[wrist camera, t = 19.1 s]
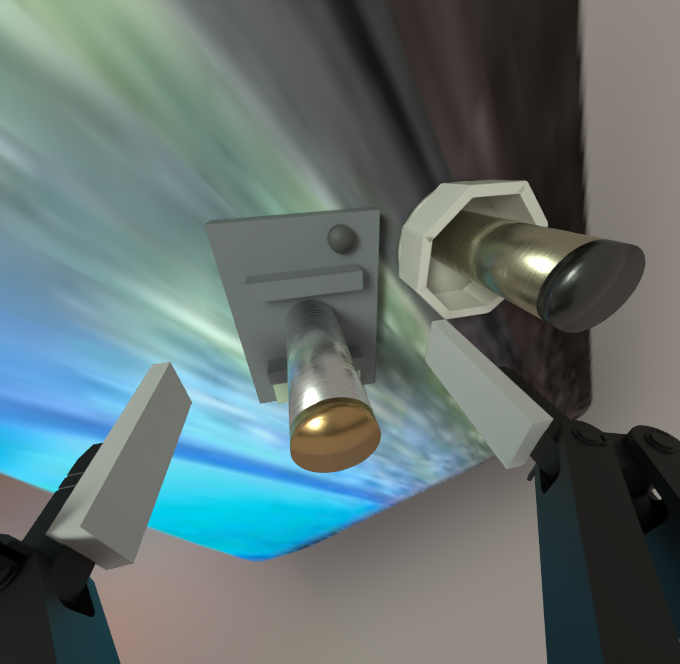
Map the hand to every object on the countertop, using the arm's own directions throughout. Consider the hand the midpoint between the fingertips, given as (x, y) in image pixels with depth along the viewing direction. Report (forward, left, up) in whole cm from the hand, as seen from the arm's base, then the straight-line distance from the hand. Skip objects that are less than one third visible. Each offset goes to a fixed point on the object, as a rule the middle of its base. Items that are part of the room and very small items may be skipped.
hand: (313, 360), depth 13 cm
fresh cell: (+1, 0, -5) cm, 5 cm away
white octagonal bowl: (-3, +11, -7) cm, 14 cm away
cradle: (+1, 0, -7) cm, 7 cm away
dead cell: (-4, +11, -6) cm, 13 cm away
